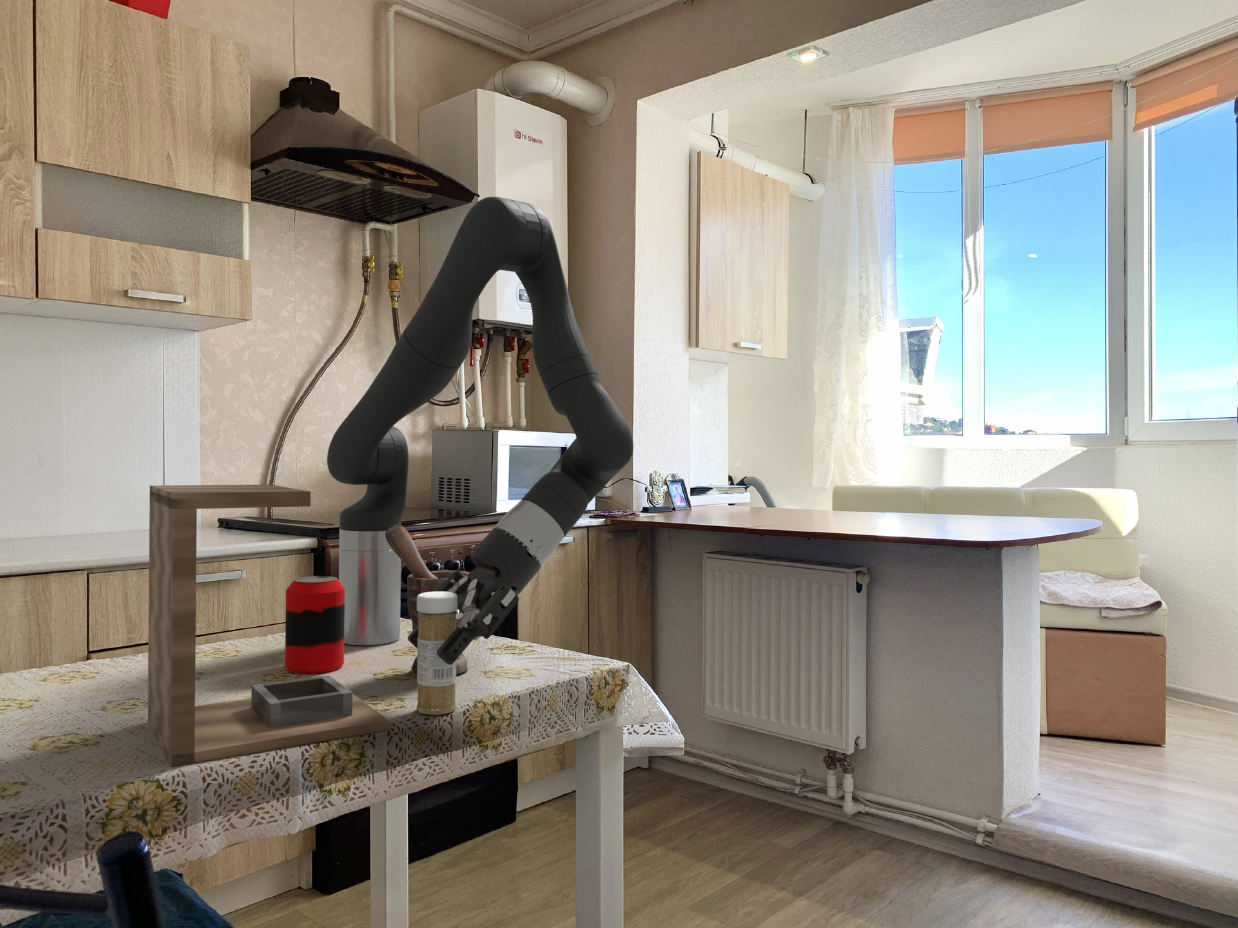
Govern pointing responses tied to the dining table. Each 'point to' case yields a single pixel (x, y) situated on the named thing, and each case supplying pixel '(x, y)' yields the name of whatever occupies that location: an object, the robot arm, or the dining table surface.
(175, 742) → the overhang stand
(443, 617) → the sprinkles bottle
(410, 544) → the mortar and pestle
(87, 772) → the dining table surface
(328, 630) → the soda can
